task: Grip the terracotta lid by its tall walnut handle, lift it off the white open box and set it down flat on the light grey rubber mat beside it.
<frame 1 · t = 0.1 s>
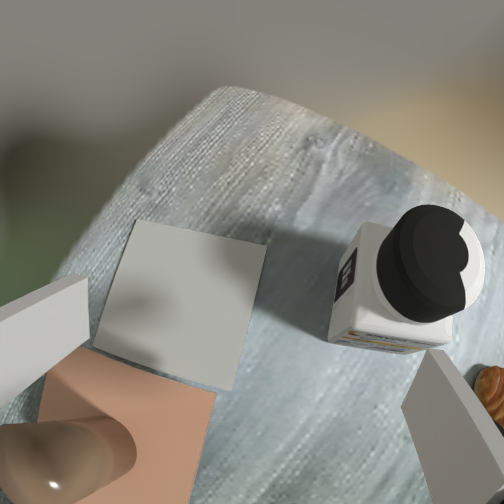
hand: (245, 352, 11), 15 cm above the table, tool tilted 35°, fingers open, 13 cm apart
pastry: (497, 405, 22), on the table
mat: (177, 299, 27), on the table
container: (372, 308, 27), on the table
lid: (112, 444, 17), point 6 cm above the table, touching white open box
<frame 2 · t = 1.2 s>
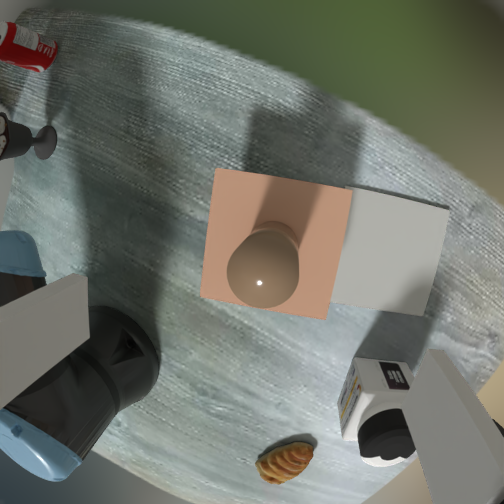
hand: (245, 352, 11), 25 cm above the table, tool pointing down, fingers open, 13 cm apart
pastry: (284, 455, 42), on the table
mat: (388, 254, 33), on the table
sundae: (46, 142, 36), on the table
container: (371, 382, 37), on the table
soda can: (47, 57, 34), on the table
lid: (273, 244, 29), point 6 cm above the table, touching white open box
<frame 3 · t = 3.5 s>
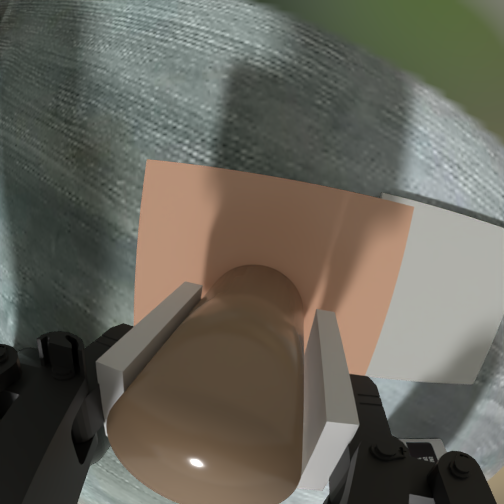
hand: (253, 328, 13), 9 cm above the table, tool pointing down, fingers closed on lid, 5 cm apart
mat: (440, 303, 20), on the table
container: (392, 461, 24), on the table
lid: (257, 303, 15), point 6 cm above the table, touching gripper
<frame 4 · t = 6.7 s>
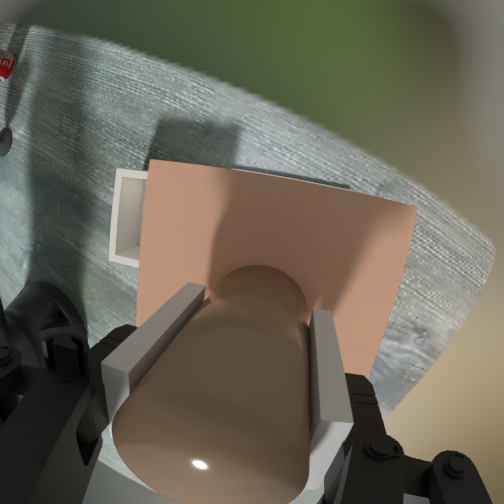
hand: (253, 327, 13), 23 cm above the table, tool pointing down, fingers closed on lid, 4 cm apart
sundae: (4, 141, 38), on the table
soda can: (9, 67, 36), on the table
white open box: (174, 216, 37), on the table
lid: (260, 304, 15), point 21 cm above the table, touching gripper
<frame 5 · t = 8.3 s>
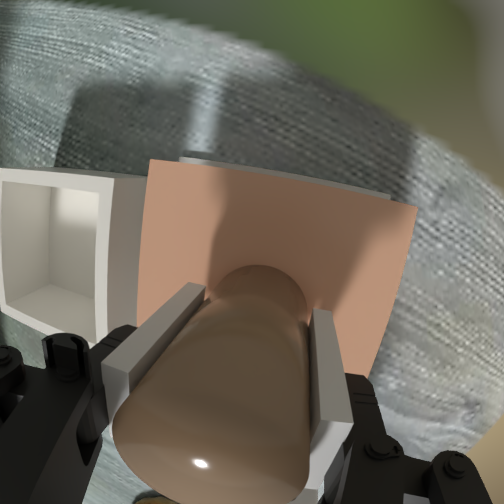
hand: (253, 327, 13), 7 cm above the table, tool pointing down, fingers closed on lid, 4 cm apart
mat: (266, 276, 20), on the table
container: (263, 459, 24), on the table
white open box: (95, 240, 21), on the table
lid: (261, 303, 15), point 5 cm above the table, touching gripper
when the fingers open (5 cm above the table, at t = 9.4 s): lid drops 2 cm, resting on mat.
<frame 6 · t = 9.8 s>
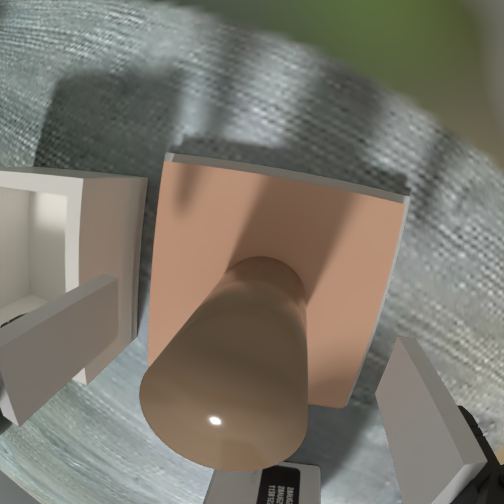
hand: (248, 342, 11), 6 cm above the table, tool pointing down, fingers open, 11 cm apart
mat: (265, 290, 17), on the table
container: (262, 481, 21), on the table
white open box: (76, 247, 19), on the table
lid: (263, 292, 17), resting on mat
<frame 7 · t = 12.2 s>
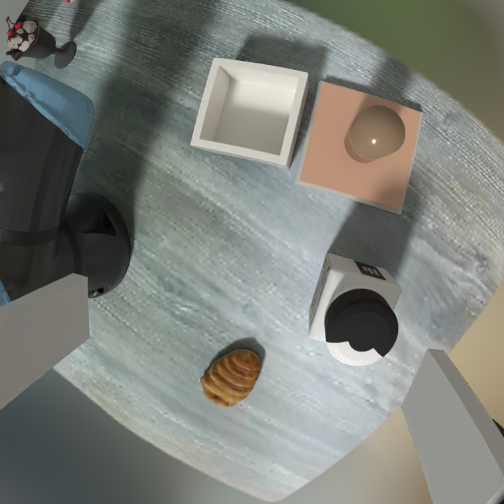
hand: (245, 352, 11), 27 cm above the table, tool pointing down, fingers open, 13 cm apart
pastry: (231, 372, 43), on the table
mat: (361, 145, 34), on the table
sundae: (66, 55, 37), on the table
container: (347, 289, 38), on the table
white open box: (257, 119, 35), on the table
lid: (362, 144, 33), resting on mat
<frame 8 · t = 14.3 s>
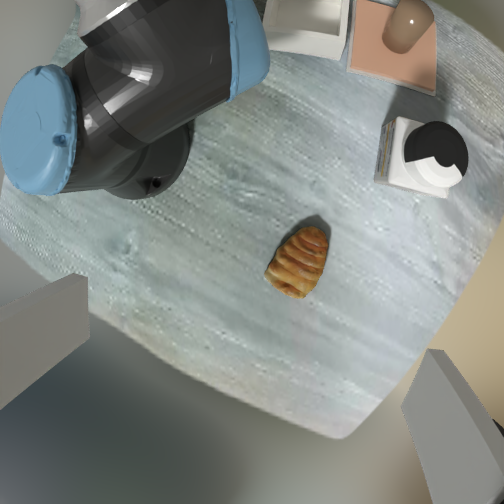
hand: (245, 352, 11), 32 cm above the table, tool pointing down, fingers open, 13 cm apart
pastry: (296, 261, 43), on the table
mat: (394, 44, 34), on the table
container: (403, 161, 37), on the table
white open box: (307, 25, 35), on the table
lid: (395, 43, 33), resting on mat
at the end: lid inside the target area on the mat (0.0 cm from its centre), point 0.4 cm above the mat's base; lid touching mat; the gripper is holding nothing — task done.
